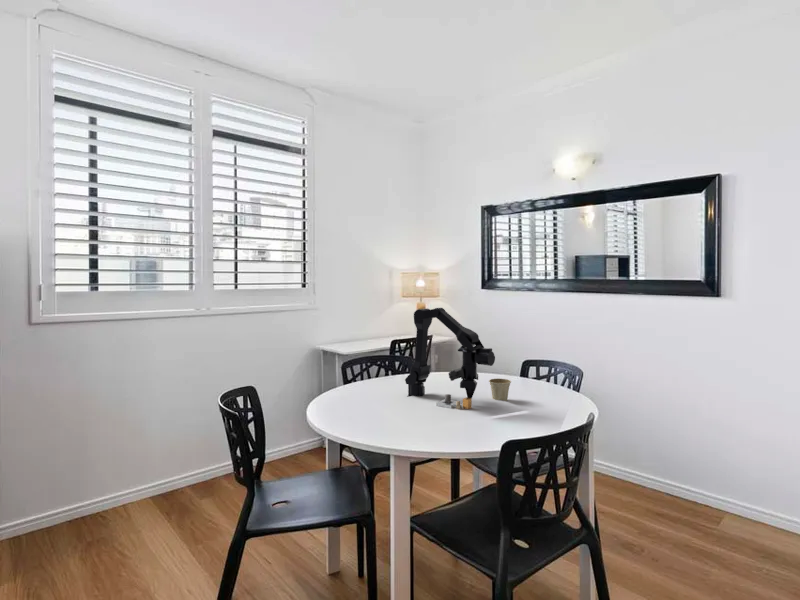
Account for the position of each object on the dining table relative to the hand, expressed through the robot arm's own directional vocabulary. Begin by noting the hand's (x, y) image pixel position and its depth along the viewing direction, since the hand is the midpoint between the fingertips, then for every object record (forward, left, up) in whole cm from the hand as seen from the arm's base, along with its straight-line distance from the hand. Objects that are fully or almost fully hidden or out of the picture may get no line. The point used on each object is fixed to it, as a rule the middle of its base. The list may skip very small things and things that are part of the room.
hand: (469, 400), depth 197 cm
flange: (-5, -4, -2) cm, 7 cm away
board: (-8, -4, -3) cm, 9 cm away
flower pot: (+9, +15, -3) cm, 18 cm away
